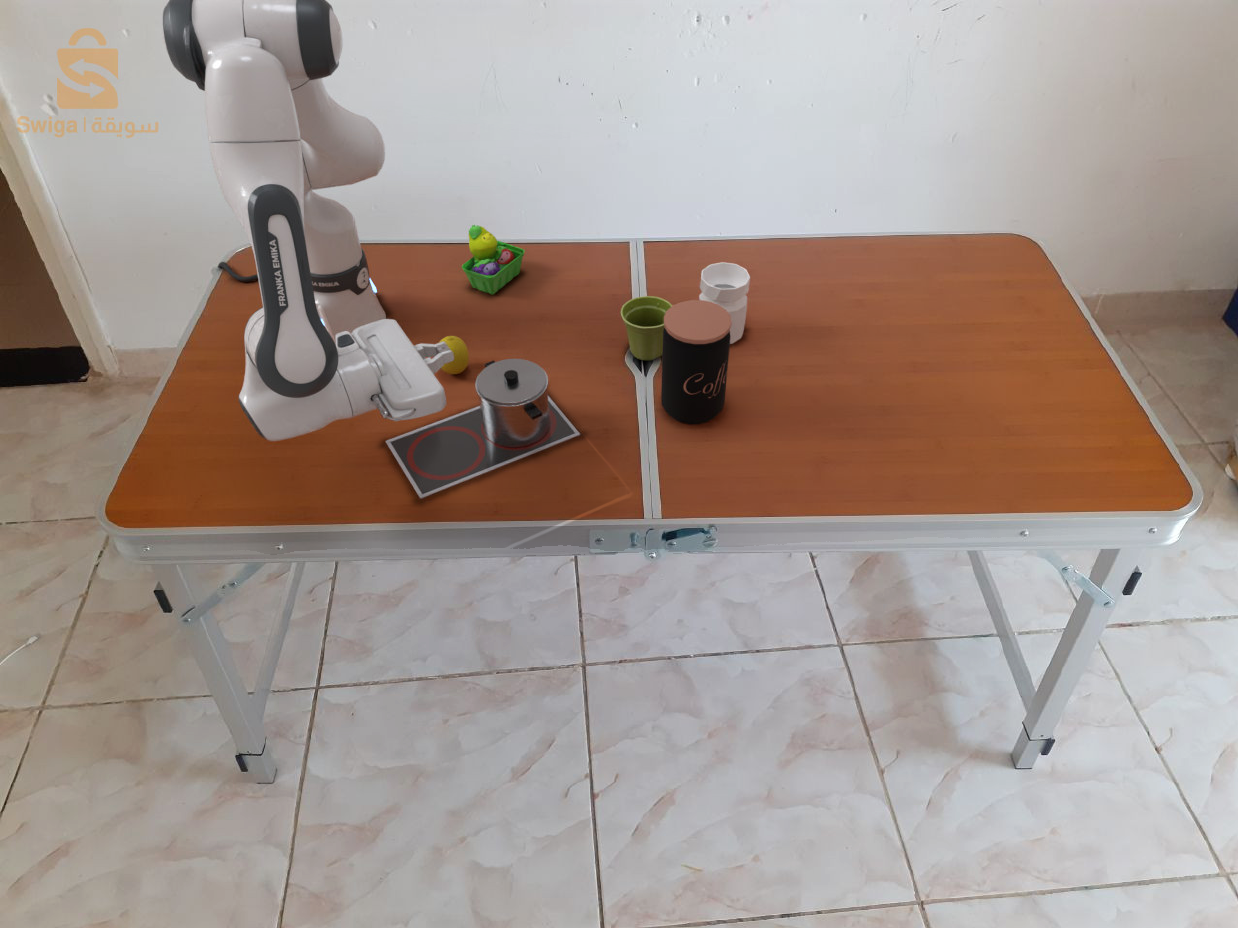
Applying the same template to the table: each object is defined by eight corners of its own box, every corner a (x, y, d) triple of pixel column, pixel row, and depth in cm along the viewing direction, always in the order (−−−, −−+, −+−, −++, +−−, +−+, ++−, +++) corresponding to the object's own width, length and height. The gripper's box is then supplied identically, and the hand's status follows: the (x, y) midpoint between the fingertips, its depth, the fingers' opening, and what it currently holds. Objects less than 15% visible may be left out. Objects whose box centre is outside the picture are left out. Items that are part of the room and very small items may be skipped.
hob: (420, 500, 147) (420, 498, 146) (385, 443, 156) (385, 440, 156) (580, 436, 157) (580, 434, 156) (538, 386, 166) (538, 383, 166)
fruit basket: (494, 300, 185) (488, 249, 177) (458, 287, 188) (450, 236, 180) (528, 272, 191) (524, 222, 184) (493, 259, 195) (487, 210, 187)
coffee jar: (681, 435, 157) (685, 347, 144) (649, 398, 164) (651, 311, 151) (736, 414, 160) (745, 327, 148) (702, 379, 167) (708, 292, 154)
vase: (690, 339, 175) (693, 283, 167) (705, 313, 181) (709, 258, 173) (736, 350, 173) (741, 294, 164) (750, 323, 179) (756, 268, 170)
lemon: (476, 367, 170) (471, 330, 164) (462, 386, 166) (457, 349, 161) (448, 361, 171) (442, 324, 166) (434, 379, 168) (427, 343, 162)
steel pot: (509, 466, 151) (502, 415, 144) (463, 412, 161) (455, 361, 153) (571, 438, 156) (568, 387, 148) (523, 387, 165) (518, 336, 158)
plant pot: (668, 370, 169) (670, 330, 163) (616, 363, 170) (615, 324, 164) (676, 338, 175) (678, 299, 169) (626, 332, 177) (626, 293, 171)
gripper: (382, 406, 128) (476, 372, 133) (332, 327, 141) (420, 298, 146) (390, 440, 133) (481, 406, 138) (341, 360, 145) (426, 332, 150)
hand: (449, 350), depth 142 cm, fingers closed
